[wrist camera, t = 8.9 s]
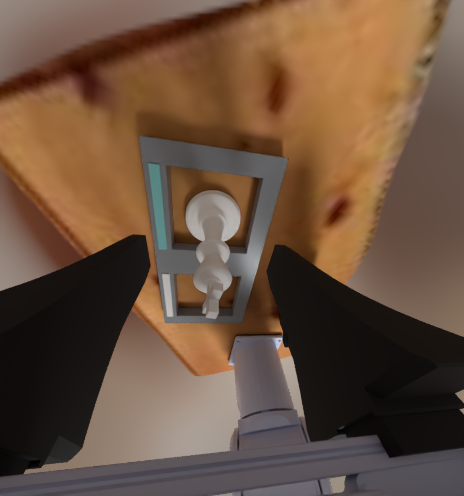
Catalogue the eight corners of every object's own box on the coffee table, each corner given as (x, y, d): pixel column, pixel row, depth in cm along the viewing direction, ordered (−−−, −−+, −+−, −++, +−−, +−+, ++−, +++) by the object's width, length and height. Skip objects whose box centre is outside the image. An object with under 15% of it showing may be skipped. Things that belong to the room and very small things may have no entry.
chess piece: (249, 202, 15) (293, 288, 6) (228, 246, 17) (241, 350, 9) (194, 180, 13) (161, 254, 5) (179, 232, 16) (141, 338, 8)
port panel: (240, 315, 24) (242, 323, 23) (167, 314, 22) (164, 323, 21) (283, 156, 13) (289, 158, 12) (145, 135, 11) (138, 135, 10)
